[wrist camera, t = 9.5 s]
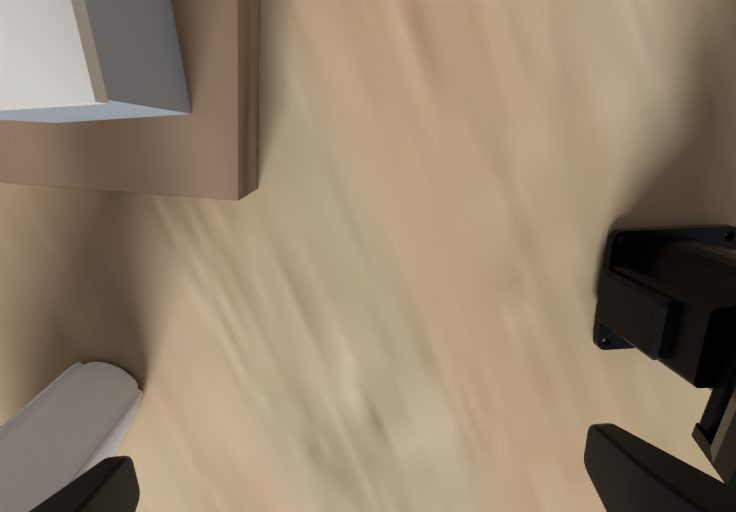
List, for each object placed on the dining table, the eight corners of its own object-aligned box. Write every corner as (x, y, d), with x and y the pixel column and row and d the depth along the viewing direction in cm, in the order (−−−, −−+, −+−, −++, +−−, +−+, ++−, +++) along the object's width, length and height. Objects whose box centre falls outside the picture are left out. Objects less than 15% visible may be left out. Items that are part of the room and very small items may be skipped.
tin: (166, -43, 13) (24, -190, 7) (195, 116, 14) (95, 102, 8) (10, -35, 13) (-267, -180, 7) (54, 126, 14) (-146, 117, 8)
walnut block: (262, -34, 16) (237, -87, 13) (259, 187, 19) (238, 200, 15) (26, -64, 16) (-76, -129, 12) (56, 171, 18) (-21, 180, 14)
